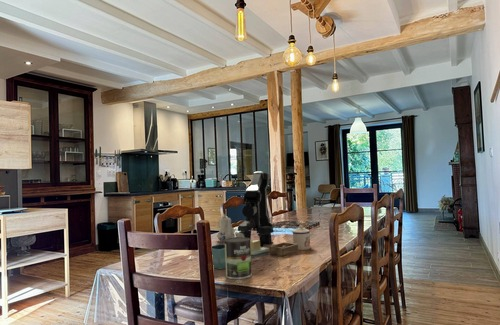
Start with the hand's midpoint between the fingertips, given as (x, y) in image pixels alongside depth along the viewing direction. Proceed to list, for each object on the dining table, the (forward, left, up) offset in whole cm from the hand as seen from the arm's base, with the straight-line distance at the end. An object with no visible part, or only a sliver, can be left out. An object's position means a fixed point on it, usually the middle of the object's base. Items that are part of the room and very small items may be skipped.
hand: (255, 246), depth 166 cm
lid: (0, 0, -2) cm, 2 cm away
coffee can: (+20, -29, -4) cm, 35 cm away
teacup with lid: (+11, +24, -4) cm, 27 cm away
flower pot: (+5, -26, -4) cm, 27 cm away
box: (+11, +9, -4) cm, 15 cm away
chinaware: (-39, +17, -4) cm, 43 cm away
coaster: (0, 0, -4) cm, 4 cm away
